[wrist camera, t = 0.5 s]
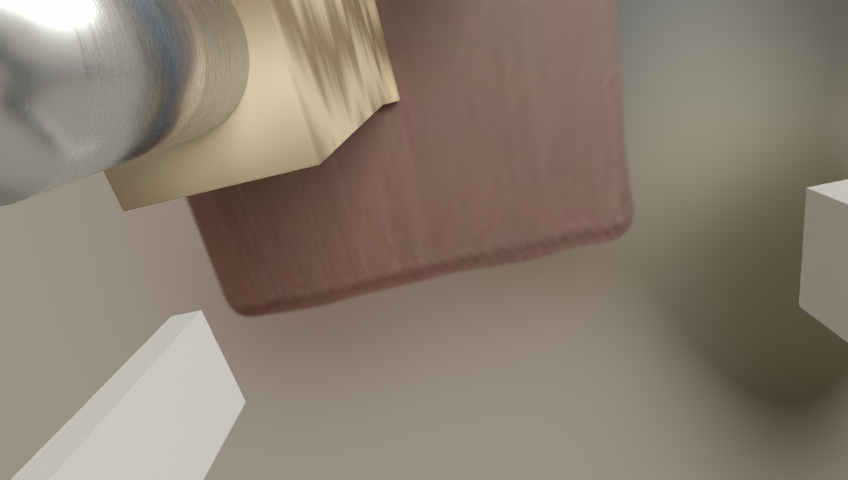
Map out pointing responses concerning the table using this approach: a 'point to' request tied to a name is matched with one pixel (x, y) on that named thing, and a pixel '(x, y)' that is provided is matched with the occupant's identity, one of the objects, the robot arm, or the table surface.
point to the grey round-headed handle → (110, 83)
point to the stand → (278, 101)
